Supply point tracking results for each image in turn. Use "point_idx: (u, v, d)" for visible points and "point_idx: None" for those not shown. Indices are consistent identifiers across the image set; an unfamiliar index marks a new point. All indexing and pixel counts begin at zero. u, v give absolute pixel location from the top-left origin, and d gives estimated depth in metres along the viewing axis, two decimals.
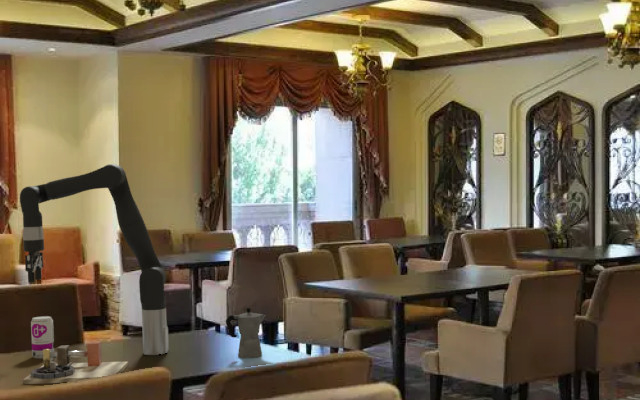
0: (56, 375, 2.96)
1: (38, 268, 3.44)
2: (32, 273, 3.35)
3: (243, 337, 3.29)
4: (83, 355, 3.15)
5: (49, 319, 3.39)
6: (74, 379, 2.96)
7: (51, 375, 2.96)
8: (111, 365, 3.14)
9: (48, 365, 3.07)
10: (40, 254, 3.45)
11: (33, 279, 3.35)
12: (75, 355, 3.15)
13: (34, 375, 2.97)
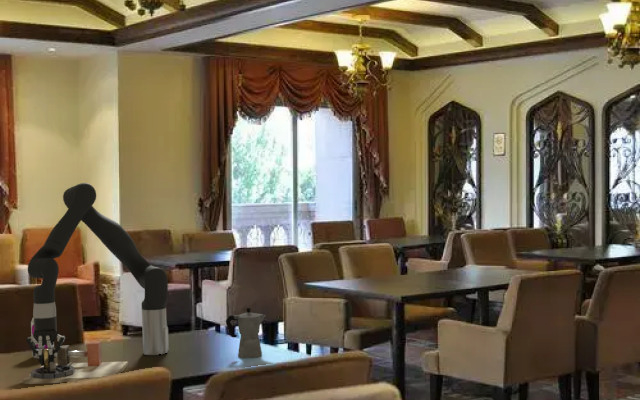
0: (56, 375, 2.96)
1: (42, 352, 3.08)
2: None
3: (243, 337, 3.29)
4: (83, 355, 3.15)
5: None
6: (74, 379, 2.96)
7: (51, 375, 2.96)
8: (111, 365, 3.14)
9: (48, 365, 3.07)
10: None
11: None
12: (75, 355, 3.15)
13: (34, 375, 2.97)
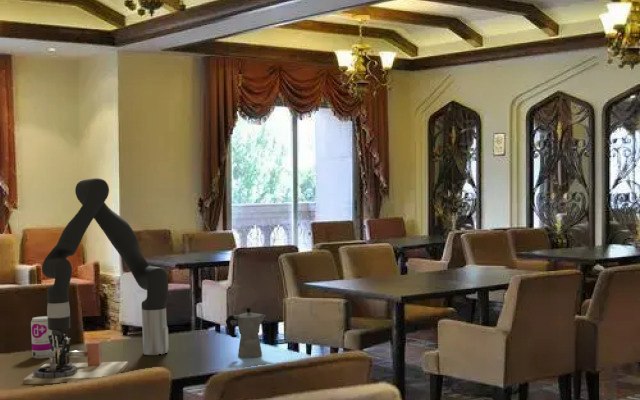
0: (45, 375, 2.96)
1: None
2: (65, 355, 3.08)
3: (243, 337, 3.29)
4: (83, 355, 3.15)
5: None
6: (74, 379, 2.96)
7: (41, 374, 2.97)
8: (111, 365, 3.14)
9: None
10: None
11: None
12: (75, 355, 3.15)
13: None
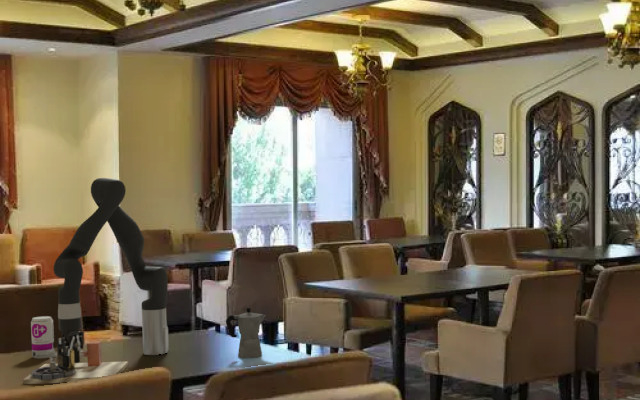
0: (31, 374, 2.99)
1: (76, 350, 3.08)
2: (66, 357, 3.01)
3: (243, 337, 3.29)
4: (83, 355, 3.15)
5: (49, 319, 3.39)
6: (74, 379, 2.96)
7: None
8: (111, 365, 3.14)
9: None
10: (80, 333, 3.10)
11: (67, 364, 3.01)
12: None
13: None
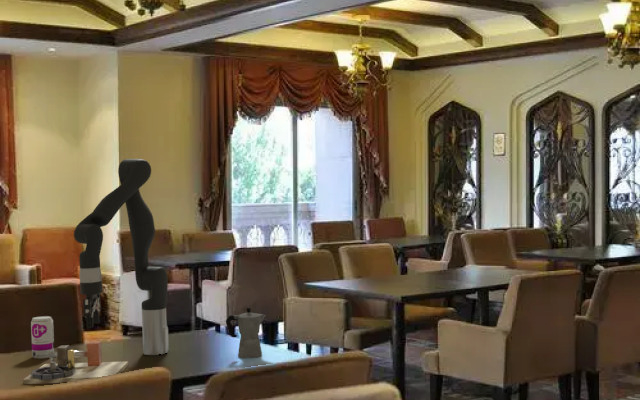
0: (31, 374, 2.99)
1: (96, 311, 3.19)
2: (90, 318, 3.10)
3: (243, 337, 3.29)
4: (83, 355, 3.15)
5: (49, 319, 3.39)
6: (74, 379, 2.96)
7: None
8: (111, 365, 3.14)
9: (68, 366, 3.04)
10: (97, 296, 3.20)
11: (91, 325, 3.10)
12: (75, 355, 3.15)
13: None
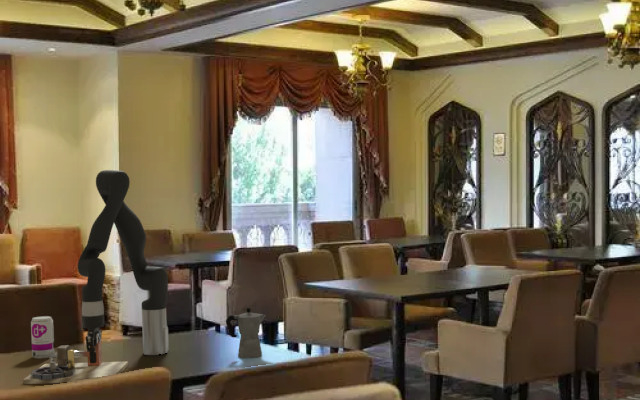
0: (31, 374, 2.99)
1: None
2: (94, 353, 3.13)
3: (243, 337, 3.29)
4: (83, 355, 3.15)
5: (49, 319, 3.39)
6: (74, 379, 2.96)
7: None
8: (111, 365, 3.14)
9: (68, 366, 3.04)
10: None
11: (94, 360, 3.13)
12: (75, 355, 3.15)
13: None
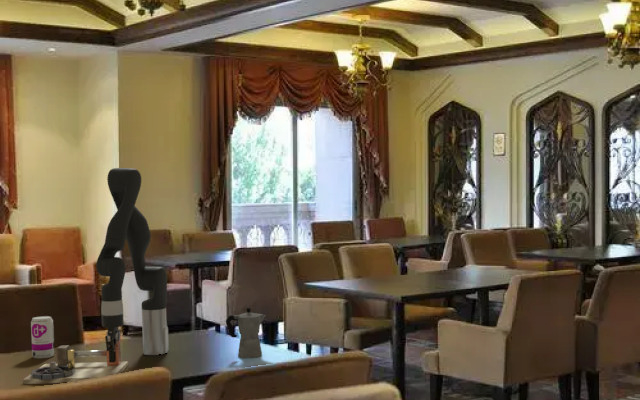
0: (31, 374, 2.99)
1: None
2: (113, 353, 3.13)
3: (243, 337, 3.29)
4: (102, 354, 3.15)
5: (49, 319, 3.39)
6: (74, 379, 2.96)
7: None
8: (111, 365, 3.14)
9: (68, 366, 3.04)
10: (118, 331, 3.21)
11: (114, 359, 3.13)
12: (94, 354, 3.15)
13: None
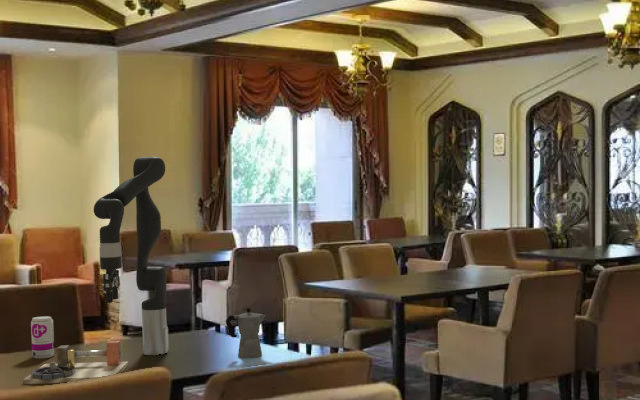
0: (31, 374, 2.99)
1: (114, 287, 3.19)
2: (110, 293, 3.10)
3: (243, 337, 3.29)
4: (102, 354, 3.15)
5: (49, 319, 3.39)
6: (74, 379, 2.96)
7: None
8: (111, 365, 3.14)
9: (68, 366, 3.04)
10: (116, 272, 3.21)
11: (111, 300, 3.11)
12: (94, 354, 3.15)
13: None
